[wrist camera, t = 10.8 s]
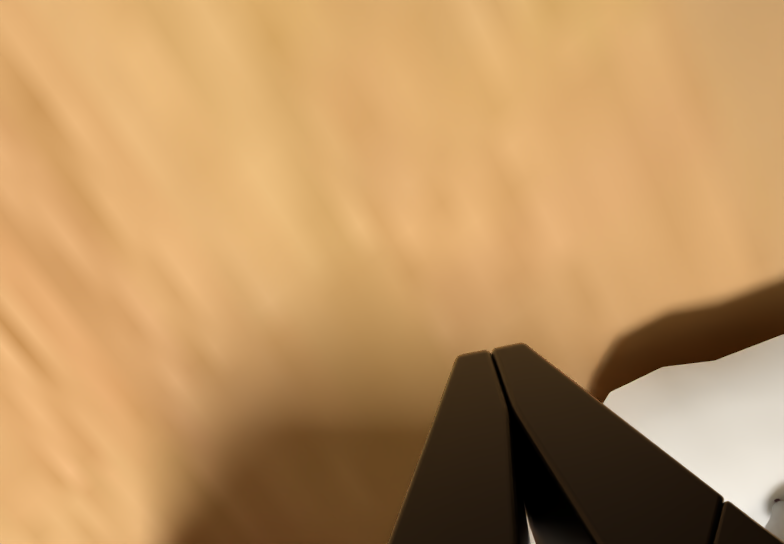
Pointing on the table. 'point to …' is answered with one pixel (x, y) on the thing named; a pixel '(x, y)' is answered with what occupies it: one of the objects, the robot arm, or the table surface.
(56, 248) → the table surface
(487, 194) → the table surface
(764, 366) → the figurine
